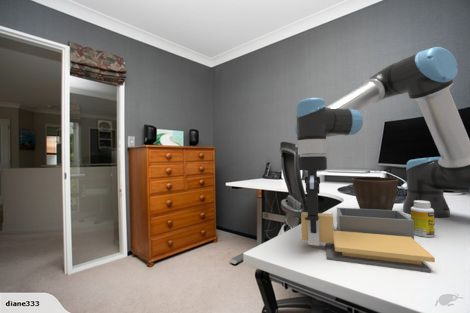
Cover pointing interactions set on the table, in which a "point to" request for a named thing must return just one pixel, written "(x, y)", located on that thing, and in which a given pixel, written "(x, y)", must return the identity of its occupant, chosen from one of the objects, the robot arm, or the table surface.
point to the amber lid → (368, 243)
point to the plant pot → (375, 192)
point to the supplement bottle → (423, 218)
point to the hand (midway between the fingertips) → (314, 240)
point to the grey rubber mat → (372, 260)
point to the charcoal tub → (375, 222)
